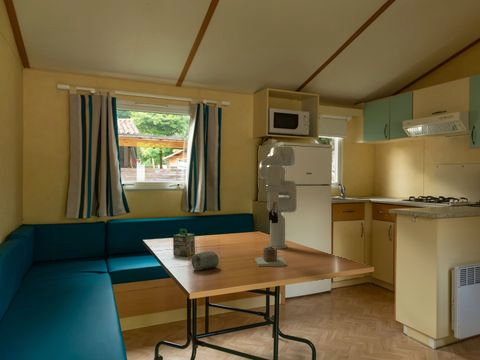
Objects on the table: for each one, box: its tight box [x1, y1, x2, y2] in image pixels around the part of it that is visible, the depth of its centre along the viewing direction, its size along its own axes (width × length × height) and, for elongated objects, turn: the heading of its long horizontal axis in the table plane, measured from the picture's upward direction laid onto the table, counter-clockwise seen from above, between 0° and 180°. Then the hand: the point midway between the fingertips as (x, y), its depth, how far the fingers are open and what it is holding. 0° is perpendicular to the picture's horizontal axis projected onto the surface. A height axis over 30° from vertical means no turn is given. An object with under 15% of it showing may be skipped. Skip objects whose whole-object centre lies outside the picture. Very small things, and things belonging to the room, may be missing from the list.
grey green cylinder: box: [190, 250, 219, 272], centre depth 163 cm, size 14×10×10 cm
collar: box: [263, 246, 278, 262], centre depth 176 cm, size 6×6×6 cm
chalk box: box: [172, 228, 196, 258], centre depth 195 cm, size 9×9×15 cm
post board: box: [254, 245, 287, 267], centre depth 176 cm, size 14×14×8 cm
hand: (273, 221), depth 178 cm, fingers open, 9 cm apart
